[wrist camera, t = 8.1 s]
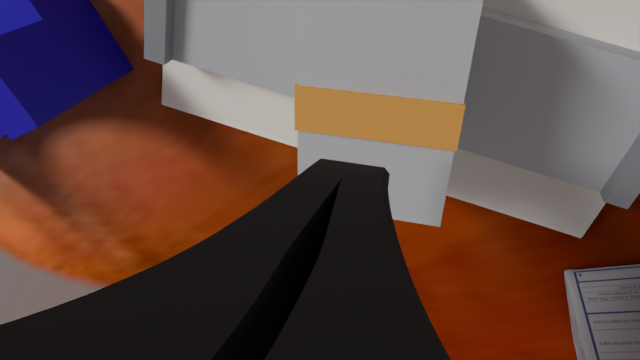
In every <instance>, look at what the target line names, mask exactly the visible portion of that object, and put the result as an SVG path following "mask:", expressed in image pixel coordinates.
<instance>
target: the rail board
mask: <svg viewBox="0 0 640 360" xmlns="http://www.w3.org/2000/svg"><path fill="white" fill-rule="evenodd" d="M144 59H147V60H150V61H153V62H156V63H159V64H163V75H162V105H165V106H168V107H171V108H174V109H177V110H180V111H183V112H187V113H190V114H193V115H196V116H199V117H202V118H205V119H209V120H212V121H215V122H218V123H221V124H224V125H227V126H230V127H234V128H237V129H240V130H243V131H246V132H249V133H252V134H256V135H259V136H262V137H265V138H268V139H271V140H274V141H278V142H281V143H284V144H287V145H290V146H293V147H296V148H298V130H295V96H294V86H295V85H296V84H297V82H298V80H297V0H144ZM639 193H640V0H483V5H482V10H481V15H480V20H479V26H478V31H477V36H476V41H475V47H474V52H473V57H472V62H471V67H470V73H469V78H468V83H467V88H466V107H465V112H464V117H463V122H462V128H461V133H460V138H459V143H458V148H457V151H454V156H453V161H452V166H451V172H450V177H449V182H448V187H447V193H446V195H447V196H450V197H453V198H456V199H459V200H462V201H466V202H469V203H472V204H475V205H478V206H481V207H484V208H488V209H491V210H494V211H497V212H500V213H503V214H506V215H509V216H513V217H516V218H519V219H522V220H525V221H528V222H531V223H535V224H538V225H541V226H544V227H547V228H550V229H553V230H556V231H560V232H563V233H566V234H569V235H572V236H575V237H578V238H582V237H583V235H584V234H585V232H586V231H587V230H588V228H589V227H590V225H591V224H592V222H593V221H594V219H595V218H596V217H597V215H598V214H599V212H600V211H601V209H602V208H603V206H604V205H605V204H606V203H609V204H612V205H615V206H618V207H621V208H625V209H628V208H629V207H630V206H631V204H632V203H633V201H634V200H635V199H636V197H637V196H638V195H639Z"/></svg>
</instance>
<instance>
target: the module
mask: <svg viewBox="0 0 640 360" xmlns="http://www.w3.org/2000/svg"><path fill="white" fill-rule="evenodd" d="M482 5H483V0H297V80H298V82H297V84H296V85H295V86H294V96H295V130H298V175H299V174H301V173H302V172H303V171H304V170H306V169H307V168H308V167H310V166H311V165H312V164H314V163H315V162H317V161H318V160H319V159H321V158H322V159H329V160H336V161H343V162H350V163H357V164H364V165H371V166H378V167H385V169H386V170H387V171H388V172H389V174H390V176H389V185H388V195H389V202H390V209H391V214H392V219H394V220H401V221H407V222H413V223H419V224H425V225H431V226H438V227H440V224H441V219H442V213H443V208H444V203H445V198H446V193H447V187H448V182H449V177H450V172H451V166H452V161H453V156H454V151H457V148H458V143H459V138H460V133H461V128H462V122H463V117H464V112H465V107H466V88H467V83H468V78H469V73H470V67H471V62H472V57H473V52H474V47H475V41H476V36H477V31H478V26H479V20H480V15H481V10H482Z"/></svg>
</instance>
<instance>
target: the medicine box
mask: <svg viewBox="0 0 640 360" xmlns="http://www.w3.org/2000/svg"><path fill="white" fill-rule="evenodd" d="M564 278H565V285H566V293H567V299H568V306H569V314H570V321H571V328H572V335H573V341H574V346H575V350H576V354H577V358H578V360H640V264H635V265H624V266H612V267H601V268H590V269H579V270H570V269H569V270H565V271H564Z"/></svg>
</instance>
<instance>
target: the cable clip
mask: <svg viewBox="0 0 640 360" xmlns="http://www.w3.org/2000/svg"><path fill="white" fill-rule="evenodd" d="M133 69H134V68H133V67H132V65H131V64H130V62H129V61H128V59H127V57H126V56H125V54H124V53H123V51H122V50H121V48H120V47H119V45H118V43H117V42H116V40H115V39H114V37H113V36H112V34H111V33H110V31H109V29H108V28H107V26H106V25H105V23H104V22H103V20H102V19H101V17H100V15H99V14H98V12H97V11H96V9H95V8H94V6H93V5H92V3H91V1H90V0H0V138H1V137H3V136H5V135H7V136H8V137H9V139H10V140H13V139H15V138H17V137H19V136H21V135H23V134H25V133H27V132H29V131H31V130H33V129H35V128H37V127H39V126H41V125H43V124H44V123H46V122H47V121H49V120H51V119H52V118H54V117H56V116H57V115H59V114H61V113H62V112H64V111H66V110H67V109H69V108H71V107H72V106H74V105H75V104H77V103H79V102H80V101H82V100H84V99H85V98H87V97H89V96H90V95H92V94H94V93H95V92H97V91H99V90H100V89H102V88H103V87H105V86H107V85H108V84H110V83H112V82H113V81H115V80H117V79H118V78H120V77H122V76H123V75H125V74H127V73H128V72H130V71H131V70H133Z"/></svg>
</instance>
